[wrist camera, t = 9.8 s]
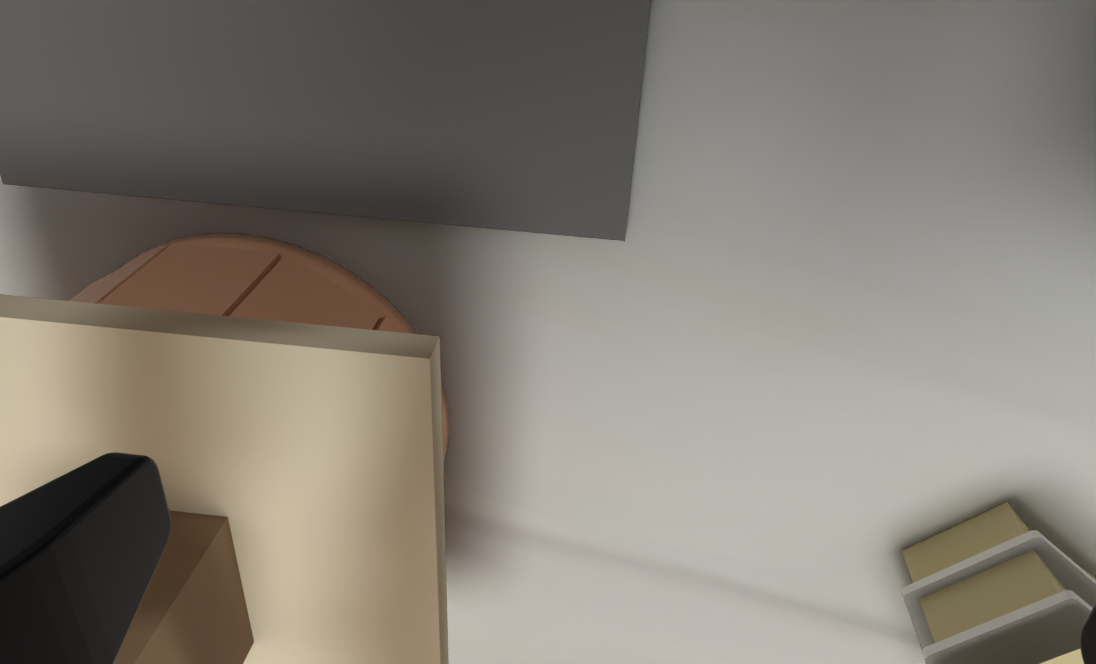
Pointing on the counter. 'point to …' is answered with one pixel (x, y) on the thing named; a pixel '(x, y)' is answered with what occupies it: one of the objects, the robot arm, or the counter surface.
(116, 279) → the bowl
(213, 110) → the mat
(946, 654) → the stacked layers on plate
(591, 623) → the counter surface
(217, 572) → the lid
